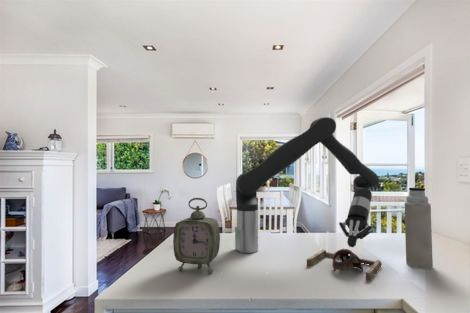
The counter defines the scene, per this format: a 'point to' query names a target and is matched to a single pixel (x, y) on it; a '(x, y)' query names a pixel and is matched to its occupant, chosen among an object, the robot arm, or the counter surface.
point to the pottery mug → (346, 260)
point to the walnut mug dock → (320, 255)
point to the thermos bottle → (418, 230)
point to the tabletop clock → (196, 239)
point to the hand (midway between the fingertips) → (350, 246)
